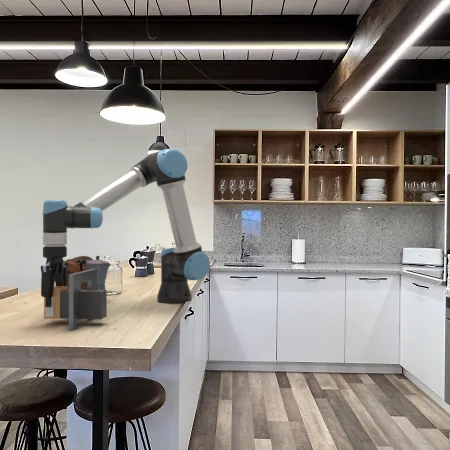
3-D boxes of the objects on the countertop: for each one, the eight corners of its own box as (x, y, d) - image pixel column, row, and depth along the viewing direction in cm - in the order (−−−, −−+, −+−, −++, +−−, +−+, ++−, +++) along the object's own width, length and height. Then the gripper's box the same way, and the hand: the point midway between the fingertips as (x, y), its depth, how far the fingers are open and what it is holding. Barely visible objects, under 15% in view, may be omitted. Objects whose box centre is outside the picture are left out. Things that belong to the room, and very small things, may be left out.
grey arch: (97, 317, 147) (97, 268, 147) (73, 330, 129) (73, 274, 129) (93, 317, 147) (93, 268, 147) (68, 330, 129) (68, 274, 129)
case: (55, 297, 188) (56, 258, 189) (54, 291, 207) (55, 255, 207) (96, 295, 195) (96, 257, 196) (91, 290, 214) (92, 255, 214)
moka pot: (105, 304, 172) (105, 256, 172) (72, 303, 175) (72, 256, 175) (116, 300, 181) (116, 255, 182) (84, 299, 185) (84, 254, 185)
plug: (107, 316, 140) (107, 286, 140) (100, 319, 135) (100, 289, 135) (52, 314, 142) (52, 285, 142) (43, 318, 137) (43, 288, 137)
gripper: (58, 244, 149) (58, 308, 149) (28, 246, 131) (28, 320, 131) (78, 244, 148) (78, 309, 148) (50, 247, 130) (50, 321, 130)
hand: (54, 314), depth 139 cm, fingers closed on plug, 5 cm apart
